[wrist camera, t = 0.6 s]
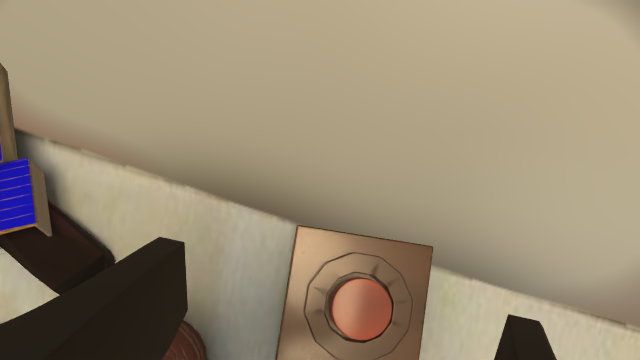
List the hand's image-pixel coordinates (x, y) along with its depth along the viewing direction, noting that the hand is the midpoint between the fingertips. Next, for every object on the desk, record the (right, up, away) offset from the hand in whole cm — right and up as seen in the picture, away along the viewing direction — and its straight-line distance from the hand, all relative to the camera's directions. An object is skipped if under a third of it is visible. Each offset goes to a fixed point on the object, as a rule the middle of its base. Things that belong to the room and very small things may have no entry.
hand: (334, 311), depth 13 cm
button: (+2, -5, +24) cm, 25 cm away
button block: (+2, -5, +28) cm, 28 cm away
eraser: (-19, 0, +25) cm, 32 cm away
